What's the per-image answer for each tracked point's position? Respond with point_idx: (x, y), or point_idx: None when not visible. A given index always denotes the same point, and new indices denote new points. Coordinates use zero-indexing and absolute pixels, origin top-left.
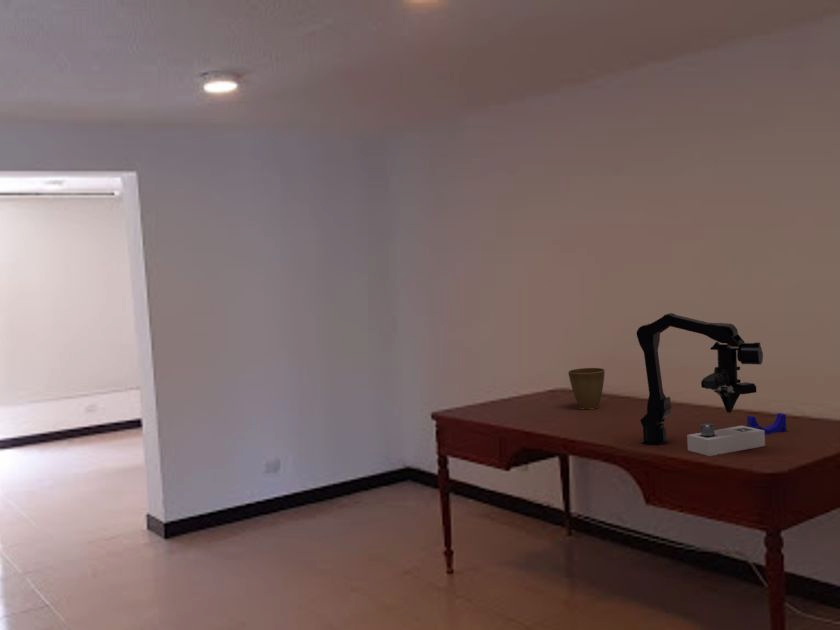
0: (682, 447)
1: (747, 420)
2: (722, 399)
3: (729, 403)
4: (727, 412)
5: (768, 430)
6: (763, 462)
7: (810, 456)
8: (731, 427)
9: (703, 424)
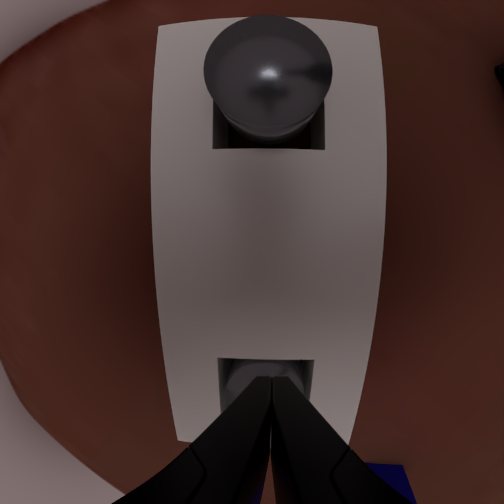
0: (419, 92)
1: (413, 496)
2: (360, 483)
3: (189, 451)
4: (279, 376)
5: None
6: (4, 188)
7: (15, 359)
8: (359, 388)
9: (300, 47)
